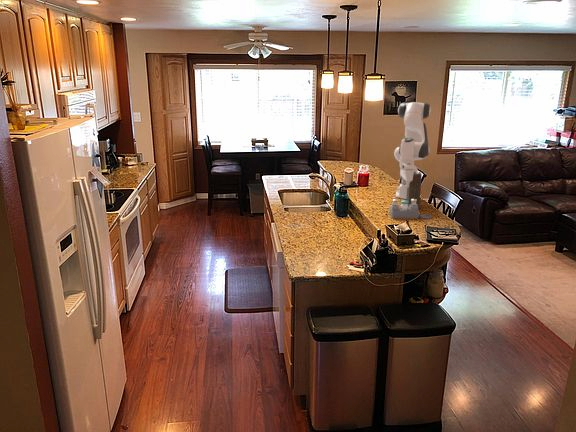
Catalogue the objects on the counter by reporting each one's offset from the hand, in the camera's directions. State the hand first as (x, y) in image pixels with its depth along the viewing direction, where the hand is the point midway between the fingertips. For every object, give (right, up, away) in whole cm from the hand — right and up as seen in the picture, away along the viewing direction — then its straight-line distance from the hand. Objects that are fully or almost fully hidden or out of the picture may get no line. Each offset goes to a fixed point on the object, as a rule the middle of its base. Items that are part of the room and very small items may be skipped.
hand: (405, 185), depth 295 cm
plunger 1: (-6, -15, +5) cm, 16 cm away
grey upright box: (+12, -13, +28) cm, 33 cm away
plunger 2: (+6, -14, +4) cm, 16 cm away
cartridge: (0, -20, +6) cm, 21 cm away
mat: (+13, -20, +3) cm, 25 cm away
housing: (0, -20, +6) cm, 21 cm away
